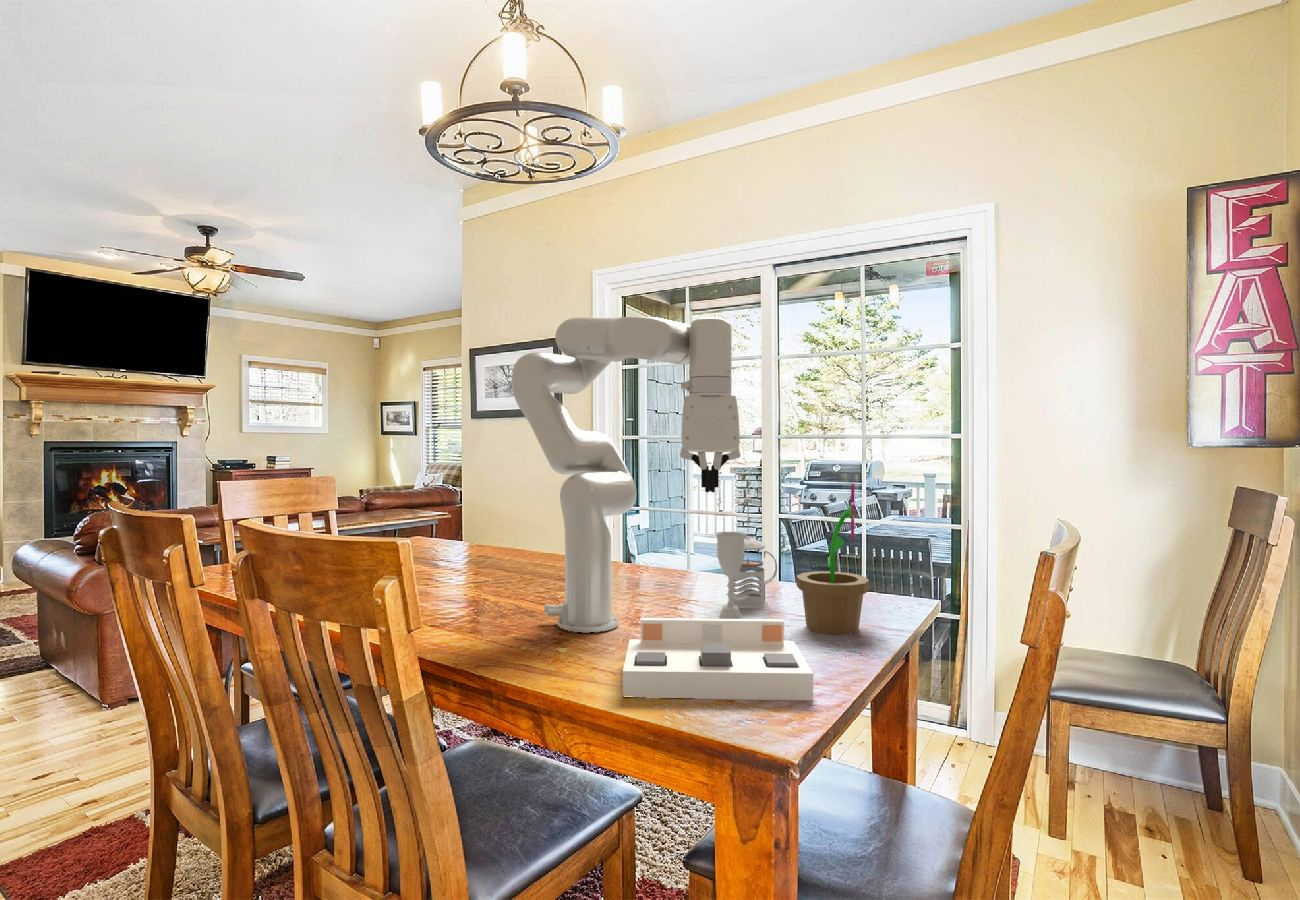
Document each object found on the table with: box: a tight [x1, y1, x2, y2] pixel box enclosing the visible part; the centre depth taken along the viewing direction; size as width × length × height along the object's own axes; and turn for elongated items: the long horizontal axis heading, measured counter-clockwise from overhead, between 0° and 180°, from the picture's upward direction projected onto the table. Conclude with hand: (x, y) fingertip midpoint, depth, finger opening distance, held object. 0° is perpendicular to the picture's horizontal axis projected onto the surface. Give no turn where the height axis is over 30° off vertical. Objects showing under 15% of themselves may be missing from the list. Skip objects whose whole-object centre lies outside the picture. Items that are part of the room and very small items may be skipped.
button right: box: [764, 653, 797, 668], centre depth 103 cm, size 4×4×3 cm
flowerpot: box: [796, 481, 870, 636], centre depth 137 cm, size 14×14×30 cm
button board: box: [622, 617, 814, 702], centre depth 107 cm, size 28×16×8 cm, turn 88°
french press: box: [726, 496, 778, 610], centre depth 157 cm, size 10×12×25 cm
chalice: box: [714, 531, 748, 619], centre depth 145 cm, size 7×7×18 cm
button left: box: [636, 652, 665, 666], centre depth 104 cm, size 4×4×3 cm
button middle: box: [701, 644, 731, 667], centre depth 104 cm, size 4×4×3 cm
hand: (709, 491), depth 119 cm, fingers closed
